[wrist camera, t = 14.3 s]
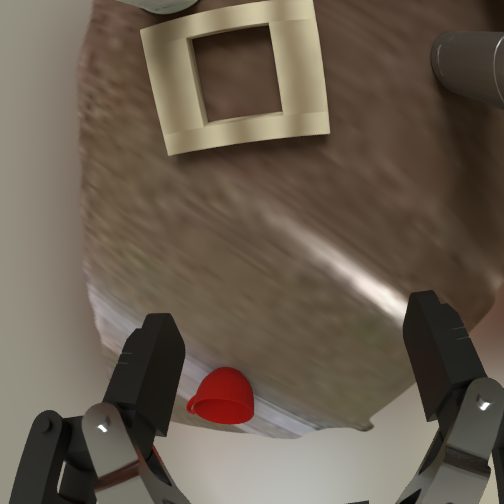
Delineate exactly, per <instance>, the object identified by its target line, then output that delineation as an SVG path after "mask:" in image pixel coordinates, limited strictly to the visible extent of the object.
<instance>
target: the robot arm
mask: <svg viewBox="0 0 504 504" xmlns="http://www.w3.org/2000/svg"><path fill="white" fill-rule="evenodd" d="M431 62H432V67H433V70H434V73H435V75H436V77H437V79H438V80H439V81H440V83H441V84H442V85H443V86H444V87H445V88H446V89H448V90H449V91H451V92H453V93H456V94H459V95H462V96H465V97H468V98H471V99H474V100H477V101H480V102H483V103H485V104H488V105H491V106H494V107H496V108H499V109H501V110H504V32H487V31H460V32H447V33H444V34H442V35H440V36H439V37H438V38H437V39H436V40H435V42H434V44H433V46H432V51H431ZM468 336H469V335H468V333H467V331H466V329H465V328H464V324H463V322H462V320H461V318H460V316H459V315H458V313H457V312H456V311H455V310H454V309H453V308H452V307H451V306H450V305H448V304H447V303H446V304H440V302H439V300H438V298H437V296H436V294H435V292H434V291H433V290H428V291H421V292H414V293H411V294H410V297H409V301H408V306H407V310H406V314H405V319H404V323H403V339H404V343H405V346H406V349H407V352H408V355H409V358H410V362H411V365H412V368H413V372H414V375H415V378H416V382H417V385H418V389H419V392H420V396H421V400H422V404H423V408H424V412H425V416H426V419H427V422H430V421H434V420H438V423H439V428H438V431H437V432H436V435H435V437H434V439H433V441H432V443H431V445H430V448H429V449H428V451H427V453H426V455H425V457H424V459H423V461H422V463H421V465H420V467H419V469H418V471H417V472H416V474H415V476H414V477H413V479H412V480H411V482H410V483H409V484H408V485H407V487H406V488H405V490H404V491H403V493H402V494H401V496H400V497H399V499H398V500H397V502H396V503H395V504H479V502H480V499H481V497H482V495H483V492H484V490H485V488H486V485H487V483H488V480H489V477H490V473H491V468H490V467H489V466H488V460H489V457H490V454H491V452H492V457H493V463H494V468H495V475H496V481H497V489H498V497H499V504H504V388H503V387H502V386H501V385H500V384H499V383H498V382H497V381H496V380H494V379H491V378H488V377H487V375H486V373H485V371H484V368H483V366H482V364H481V361H480V359H479V357H478V354H477V352H476V350H475V348H474V346H473V343H472V341H471V339H470V338H469V337H468ZM184 359H185V344H184V341H183V339H182V337H181V334H180V332H179V330H178V328H177V326H176V324H175V321H174V319H173V317H172V315H171V314H170V313H153V314H148V315H147V316H146V318H145V320H144V323H143V325H142V328H136V329H135V330H134V332H133V333H132V334H131V335H130V336H129V337H128V338H127V340H126V342H125V345H124V347H123V350H122V354H121V355H120V357H119V360H118V364H117V365H116V367H115V370H114V372H113V375H112V377H111V380H110V383H109V385H108V388H107V391H106V393H105V396H104V398H103V401H102V402H101V403H98V404H95V405H93V406H91V407H90V408H89V409H88V410H87V411H86V413H85V414H84V415H83V416H77V417H71V418H62V417H61V416H60V415H59V414H58V413H57V412H55V411H53V410H46V411H44V412H42V413H40V414H39V415H38V416H37V417H36V418H35V420H34V422H33V424H32V427H31V430H30V433H29V435H28V438H27V441H26V444H25V448H24V451H23V454H22V457H21V460H20V464H19V467H18V470H17V474H16V477H15V481H14V485H13V489H12V493H11V497H10V501H9V504H96V502H97V501H98V503H99V504H191V503H190V502H189V500H188V499H187V498H186V497H185V496H184V494H183V493H182V492H181V491H180V490H179V489H178V487H177V486H176V484H175V483H174V481H173V479H172V478H171V476H170V474H169V472H168V470H167V469H166V467H165V465H164V463H163V461H162V459H161V457H160V456H159V454H158V452H157V450H156V448H155V446H154V445H153V442H154V438H155V436H161V437H166V436H167V431H168V426H169V422H170V418H171V414H172V409H173V405H174V401H175V397H176V392H177V388H178V384H179V380H180V376H181V372H182V368H183V364H184ZM63 461H65V462H66V465H65V469H64V473H63V477H62V481H61V485H60V490H59V493H57V485H58V480H59V476H60V472H61V468H62V464H63ZM348 504H369V501H362V502H355V503H348Z"/></svg>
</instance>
